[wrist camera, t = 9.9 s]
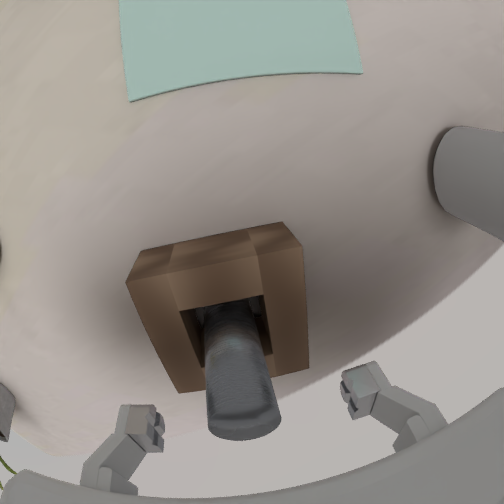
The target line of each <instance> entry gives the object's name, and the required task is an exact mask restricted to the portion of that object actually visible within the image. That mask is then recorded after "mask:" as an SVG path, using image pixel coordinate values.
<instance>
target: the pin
mask: <svg viewBox="0 0 504 504" xmlns="http://www.w3.org/2000/svg"><path fill="white" fill-rule="evenodd" d="M204 346H205V378H206V400H207V418H208V428H209V430H210V432H211V433H212V434H214V435H215V436H217V437H219V438H223V439H227V440H234V441H243V440H251V439H256V438H259V437H262V436H265V435H267V434H268V433H270V432H272V431H273V430H275V429H276V428H277V427H278V425H279V424H280V422H281V415H280V411H279V408H278V404H277V400H276V397H275V393H274V390H273V386H272V382H271V379H270V375H269V371H268V367H267V364H266V360H265V356H264V353H263V349H262V345H261V341H260V338H259V334H258V330H257V326H256V322H255V319H254V315H253V311H252V307H251V303H250V299H249V298H244V299H239V300H234V301H229V302H224V303H219V304H214V305H209V306H204Z"/></svg>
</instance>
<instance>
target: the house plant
mask: <svg viewBox="0 0 504 504" xmlns="http://www.w3.org/2000/svg"><path fill="white" fill-rule="evenodd" d="M14 407H15V398H14V396H13V395H12V394H11V392H10V391H9V390H8V389H7V388H6V387H5V386H4V385H2V384H1V383H0V440H1V441H4V442H8V440H9V434H10V427H11V422H12V417H13V412H14ZM0 461H1V462H2V464H3V465H4V466H5V467H6V469H7V470H9V471H10V472H11V473H13V474H17V473H16V472H15V471H13V470H12V469H11V468H10V467H9V466H8V465H7V464H6V463H5V462H4V460H3V459H2V458H1V456H0ZM0 488H1V489H2V490H3V487H2V485H1V482H0Z"/></svg>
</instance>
